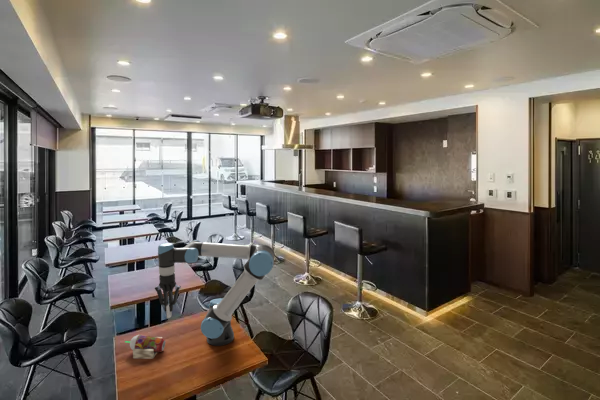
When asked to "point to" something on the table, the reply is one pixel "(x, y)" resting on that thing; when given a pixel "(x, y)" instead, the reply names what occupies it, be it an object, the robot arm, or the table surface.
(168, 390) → the table surface
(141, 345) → the smoothie
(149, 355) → the rest
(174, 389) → the table surface
